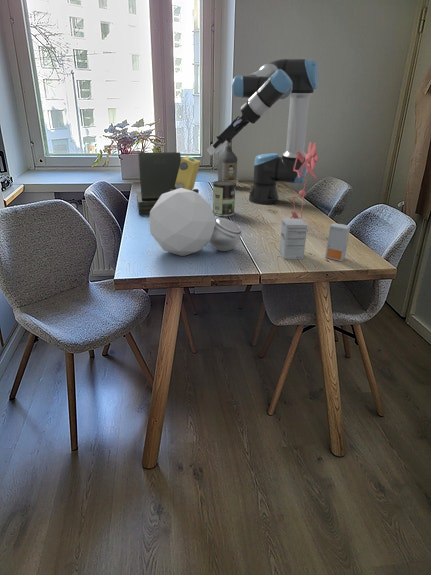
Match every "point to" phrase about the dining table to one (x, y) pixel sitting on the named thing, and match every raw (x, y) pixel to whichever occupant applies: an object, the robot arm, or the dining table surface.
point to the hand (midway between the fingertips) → (211, 151)
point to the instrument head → (188, 172)
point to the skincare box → (337, 241)
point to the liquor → (227, 165)
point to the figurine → (310, 167)
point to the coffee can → (223, 198)
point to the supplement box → (293, 238)
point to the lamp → (190, 224)
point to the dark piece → (156, 177)
